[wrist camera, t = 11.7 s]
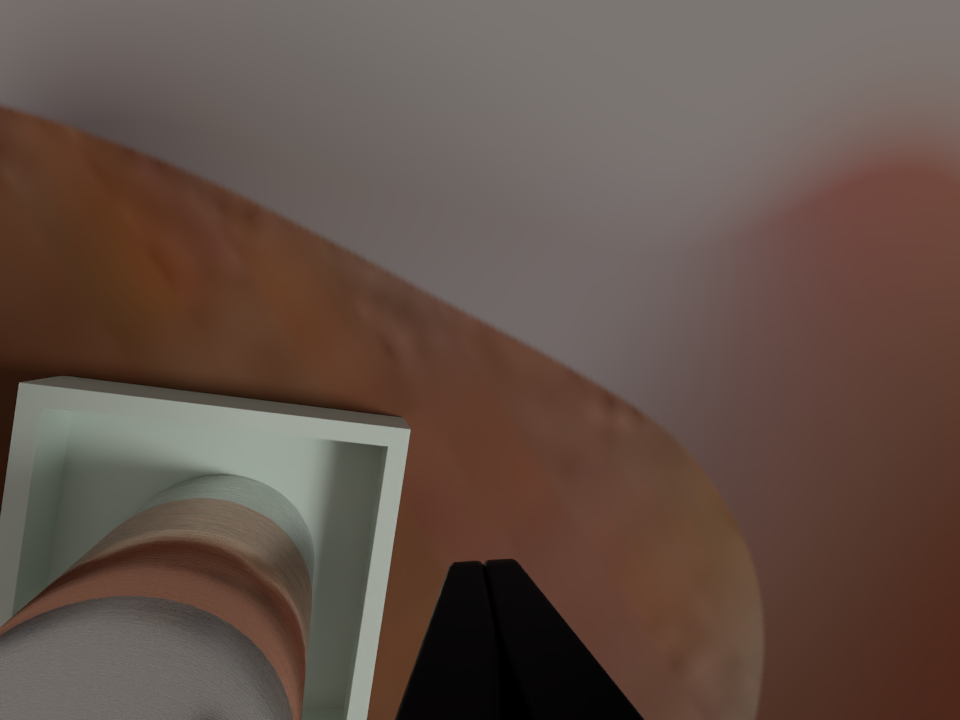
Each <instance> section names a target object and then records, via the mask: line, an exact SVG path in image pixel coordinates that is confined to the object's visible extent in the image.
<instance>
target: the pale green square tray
mask: <svg viewBox="0 0 960 720" xmlns="http://www.w3.org/2000/svg"><path fill="white" fill-rule="evenodd" d="M410 430H411V429H410V428H409V426H408V424H407V423H406V421H405V419H404V418H402V417H394V416H386V415H378V414H370V413H362V412H354V411H346V410H338V409H330V408H322V407H314V406H305V405H297V404H289V403H281V402H273V401H265V400H257V399H249V398H241V397H233V396H225V395H217V394H209V393H201V392H193V391H184V390H176V389H168V388H160V387H152V386H144V385H136V384H128V383H120V382H112V381H104V380H96V379H88V378H80V377H72V376H57V377H51V378H44V379H38V380H32V381H25V382H19V387H18V394H17V401H16V408H15V415H14V422H13V430H12V437H11V444H10V451H9V458H8V465H7V472H6V480H5V487H4V494H3V501H2V508H1V515H0V627H1V626H2V625H4V624H5V623H6V622H7V621H8V620H9V619H10V618H12V617H13V616H14V615H15V614H16V613H17V612H19V611H20V610H21V609H22V608H23V607H24V606H25V605H27V604H28V603H29V602H30V601H31V600H32V599H34V598H35V597H36V596H37V595H38V594H39V593H40V592H42V591H43V590H44V589H45V588H46V587H47V586H49V585H50V584H51V583H52V582H53V581H54V580H55V579H57V578H58V577H59V576H60V575H61V574H62V573H63V572H65V571H66V570H67V569H68V568H69V567H70V566H72V565H73V564H74V563H75V562H76V561H77V560H78V559H80V558H81V557H82V556H83V555H84V554H85V553H87V552H88V551H89V550H90V549H91V548H92V547H93V546H95V545H96V544H97V543H98V542H99V541H100V540H102V539H103V538H104V537H105V536H106V535H107V534H109V533H110V532H111V531H112V530H114V529H115V528H116V527H117V526H119V525H120V524H121V523H123V522H124V521H126V520H127V519H129V518H130V517H131V516H132V515H133V514H134V513H135V512H136V511H138V510H139V509H140V508H141V507H142V506H143V505H144V504H146V503H147V502H148V501H149V500H151V499H152V498H153V497H154V496H156V495H157V494H159V493H160V492H162V491H164V490H165V489H167V488H169V487H171V486H173V485H175V484H177V483H179V482H182V481H185V480H188V479H191V478H195V477H200V476H206V475H218V474H224V475H236V476H242V477H247V478H250V479H254V480H257V481H259V482H262V483H264V484H266V485H268V486H270V487H272V488H273V489H275V490H277V491H278V492H280V493H281V494H282V495H283V496H285V497H286V498H287V499H288V500H289V501H290V502H291V503H292V504H293V505H294V506H295V507H296V508H297V510H298V511H299V513H300V514H301V515H302V517H303V518H304V520H305V522H306V524H307V526H308V528H309V531H310V534H311V537H312V541H313V546H314V555H315V566H314V576H313V585H312V613H311V623H310V634H309V644H308V654H307V665H306V675H305V685H304V696H303V706H302V716H301V720H367V713H368V707H369V700H370V694H371V687H372V680H373V674H374V667H375V661H376V654H377V647H378V641H379V634H380V628H381V621H382V614H383V608H384V601H385V595H386V588H387V582H388V575H389V568H390V562H391V555H392V549H393V542H394V535H395V529H396V522H397V516H398V509H399V502H400V496H401V489H402V483H403V476H404V469H405V463H406V456H407V450H408V443H409V437H410Z"/></svg>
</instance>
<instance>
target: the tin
mask: <svg viewBox="0 0 960 720" xmlns="http://www.w3.org/2000/svg"><path fill="white" fill-rule="evenodd" d="M314 566H315V555H314V546H313V541H312V537H311V534H310V531H309V528H308V526H307V524H306V522H305V520H304V518H303V517H302V515H301V514H300V513H299V511H298V510H297V508H296V507H295V506H294V505H293V504H292V503H291V502H290V501H289V500H288V499H287V498H286V497H285V496H283V495H282V494H281V493H280V492H278V491H277V490H275V489H273V488H272V487H270V486H268V485H266V484H264V483H262V482H259V481H257V480H254V479H250V478H247V477H242V476H236V475H224V474H218V475H206V476H200V477H195V478H191V479H188V480H185V481H182V482H179V483H177V484H175V485H173V486H171V487H169V488H167V489H165V490H164V491H162V492H160V493H159V494H157V495H156V496H154V497H153V498H152V499H151V500H149V501H148V502H147V503H146V504H144V505H143V506H142V507H141V508H140V509H139V510H138V511H136V512H135V513H134V514H133V515H132V516H131V517H130V518H129V519H127V520H126V521H124V522H123V523H121V524H120V525H119V526H117V527H116V528H115V529H114V530H112V531H111V532H110V533H109V534H107V535H106V536H105V537H104V538H103V539H102V540H100V541H99V542H98V543H97V544H96V545H95V546H93V547H92V548H91V549H90V550H89V551H88V552H87V553H85V554H84V555H83V556H82V557H81V558H80V559H78V560H77V561H76V562H75V563H74V564H73V565H72V566H70V567H69V568H68V569H67V570H66V571H65V572H63V573H62V574H61V575H60V576H59V577H58V578H57V579H55V580H54V581H53V582H52V583H51V584H50V585H49V586H47V587H46V588H45V589H44V590H43V591H42V592H40V593H39V594H38V595H37V596H36V597H35V598H34V599H32V600H31V601H30V602H29V603H28V604H27V605H25V606H24V607H23V608H22V609H21V610H20V611H19V612H17V613H16V614H15V615H14V616H13V617H12V618H10V619H9V620H8V621H7V622H6V623H5V624H4V625H2V626H1V627H0V720H301V716H302V706H303V696H304V685H305V675H306V665H307V654H308V644H309V634H310V623H311V613H312V585H313V576H314Z"/></svg>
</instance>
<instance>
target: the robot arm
mask: <svg viewBox="0 0 960 720" xmlns="http://www.w3.org/2000/svg"><path fill="white" fill-rule="evenodd" d="M395 720H644V719H643V717H642V716H641V715H640V714H639V712H638V711H637V710H636V709H635V707H634V706H633V705H632V704H631V702H630V701H629V700H628V699H627V697H626V696H625V695H624V694H623V692H622V691H621V690H620V689H619V687H618V686H617V685H616V684H615V682H614V681H613V680H612V679H611V677H610V676H609V675H608V674H607V673H606V671H605V670H604V669H603V668H602V666H601V665H600V664H599V663H598V661H597V660H596V659H595V658H594V656H593V655H592V654H591V653H590V651H589V650H588V649H587V648H586V646H585V645H584V644H583V643H582V641H581V640H580V639H579V638H578V636H577V635H576V634H575V633H574V631H573V630H572V629H571V628H570V626H569V625H568V624H567V623H566V622H565V620H564V619H563V618H562V617H561V615H560V614H559V613H558V612H557V610H556V609H555V608H554V607H553V605H552V604H551V603H550V602H549V600H548V599H547V598H546V597H545V595H544V594H543V593H542V592H541V590H540V589H539V588H538V587H537V585H536V584H535V583H534V582H533V580H532V579H531V578H530V577H529V575H528V574H527V573H526V572H525V571H524V569H523V568H522V567H521V566H520V564H519V563H518V562H517V561H516V560H514V559H498V560H487V561H486V562H485V563H484V564H482V563H481V562H480V561H465V562H454V563H452V564H451V565H450V567H449V569H448V572H447V574H446V577H445V580H444V583H443V586H442V588H441V591H440V594H439V597H438V600H437V603H436V605H435V608H434V611H433V614H432V617H431V619H430V622H429V625H428V628H427V631H426V633H425V636H424V639H423V642H422V645H421V648H420V650H419V653H418V656H417V659H416V662H415V664H414V667H413V670H412V673H411V676H410V678H409V681H408V684H407V687H406V690H405V693H404V695H403V698H402V701H401V704H400V707H399V709H398V712H397V715H396V718H395Z"/></svg>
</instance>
